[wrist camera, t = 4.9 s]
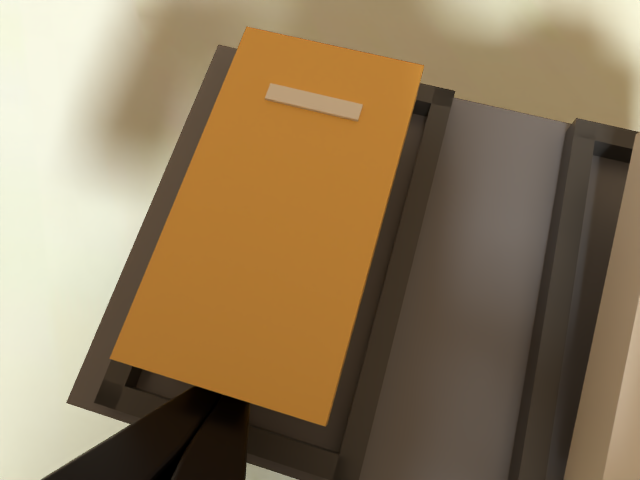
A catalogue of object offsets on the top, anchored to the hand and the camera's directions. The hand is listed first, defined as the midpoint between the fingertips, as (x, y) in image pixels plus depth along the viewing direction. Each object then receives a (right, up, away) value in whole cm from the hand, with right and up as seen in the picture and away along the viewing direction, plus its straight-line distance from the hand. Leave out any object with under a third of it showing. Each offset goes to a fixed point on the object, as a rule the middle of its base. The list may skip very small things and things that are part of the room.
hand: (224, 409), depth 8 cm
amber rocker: (+1, +3, +1) cm, 3 cm away
